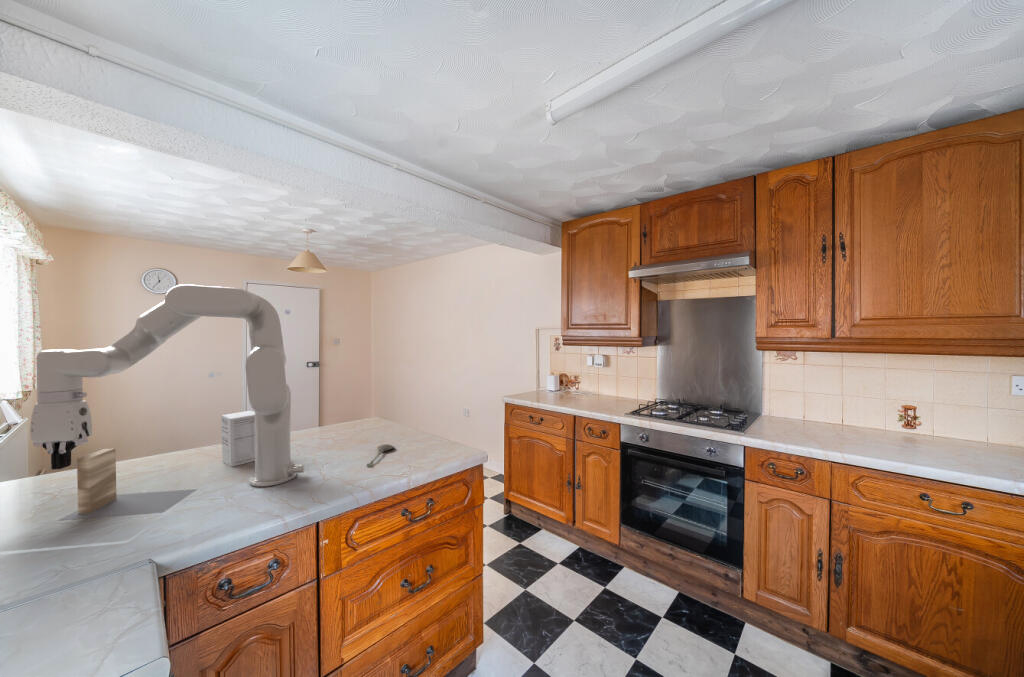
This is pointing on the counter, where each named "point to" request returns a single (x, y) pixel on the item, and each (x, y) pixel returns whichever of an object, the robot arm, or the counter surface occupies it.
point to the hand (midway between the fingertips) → (61, 467)
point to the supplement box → (238, 438)
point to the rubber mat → (135, 504)
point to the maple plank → (96, 480)
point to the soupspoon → (382, 448)
